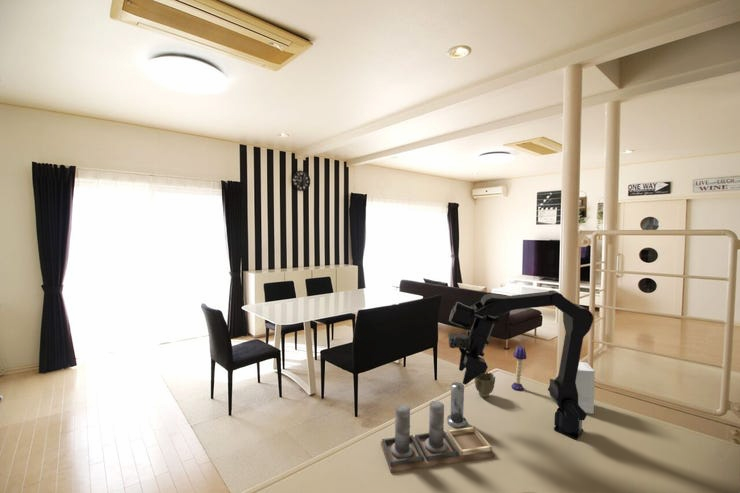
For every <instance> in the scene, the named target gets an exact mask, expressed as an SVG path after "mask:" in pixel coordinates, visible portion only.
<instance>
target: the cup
mask: <svg viewBox="0 0 740 493" xmlns="http://www.w3.org/2000/svg"><path fill="white" fill-rule="evenodd" d="M495 382H496V376H494V374H492V372H488V371H486V373H481V374H480V375H478V376H477V377H475V378H474V385H475V389H476V390H477V391H478V395H479V396H480V397H482V398H484V399H485V398H489V397H490V394H491V393H492V392H493V391H494V388H495Z"/></svg>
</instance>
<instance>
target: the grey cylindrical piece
mask: <svg viewBox="0 0 740 493" xmlns="http://www.w3.org/2000/svg"><path fill="white" fill-rule="evenodd" d="M450 388H451V389H450V413H449V415H448V416H447V418H446V423H447V424H448V425H449V426H450V427H452V428H455V429H461V428H466V426H467V419H466V418H465V416H464V411H465V410H464V408H465V407H464V405H465V404H464V403H465V384H463V382H462V383H461V382H459V381H458V382H456V381H454V382H451V384H450Z"/></svg>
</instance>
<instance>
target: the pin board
mask: <svg viewBox="0 0 740 493" xmlns="http://www.w3.org/2000/svg"><path fill="white" fill-rule="evenodd" d="M394 408H395V411H394V412H395V414H394V415H395V417H394V422H395V423H394V437H388V438H382V439H381V440H380V446H381V447H380V448H381V449H382V452H383V455H384V458H385V461H386V464H387V466H388V469H389V472H390V473H399V472H404V471H411V470H416V469H417V470H418V469H422V468H423V469H424V468H429V467H435V466H443V465H449V464H456V463H461V462H467V461H468V462H469V461H474V460H480V459H487V458H492V457H493V458H494V457H495V456H494V455H495V453H494V451H493V450H492V449H493V448H492V445H490V443H489V442H488V441H487V439H486V438H485V437H484V436H483V435H482V433H481V432H480V431H479V430H478V429H477V427H476V426H468V427H464V428H455V429H447V430H446V431H445V428H444V426H445V425H444V423H445V404H444V403H443V402H442V401H438V400H434V401H430V402H429V411H428V413H429V415H428V416H429V419H428V423H429V424H428V432H425V433H418V434H415V435H414V436H413V434H410V433H411V432H410V431H411V430H410V429H411V427H410V426H411V408H410V406H408V405H406V404H399V405H396V406H395V407H394Z"/></svg>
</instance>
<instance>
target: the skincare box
mask: <svg viewBox="0 0 740 493" xmlns="http://www.w3.org/2000/svg"><path fill="white" fill-rule="evenodd" d="M595 372H596V371H595V370H594V369H593V367H591V366H590V364H589V363H588V362H584V361H579V366H578V371H577V377H576V387H577V391H578V405H579V406H580V407H581V408H582V409H583V410H584V412H585V413H586V414H589V415H594V412H595V411H594V410H595V374H596V373H595Z"/></svg>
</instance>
